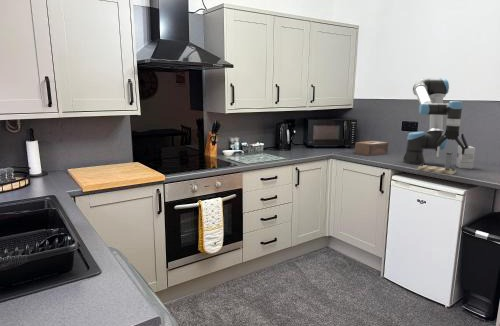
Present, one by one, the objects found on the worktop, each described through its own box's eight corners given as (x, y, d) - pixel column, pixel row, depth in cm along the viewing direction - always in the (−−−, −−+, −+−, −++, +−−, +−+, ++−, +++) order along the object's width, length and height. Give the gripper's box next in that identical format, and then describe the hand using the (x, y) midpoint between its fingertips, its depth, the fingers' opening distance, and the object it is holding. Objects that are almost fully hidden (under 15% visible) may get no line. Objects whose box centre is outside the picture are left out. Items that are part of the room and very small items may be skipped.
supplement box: (455, 165, 255) (457, 145, 252) (469, 166, 252) (471, 146, 249) (458, 168, 246) (461, 147, 243) (473, 168, 244) (476, 147, 241)
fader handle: (444, 169, 229) (446, 152, 227) (446, 168, 232) (448, 152, 230) (448, 169, 227) (450, 153, 225) (450, 169, 230) (452, 152, 228)
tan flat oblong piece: (417, 169, 238) (418, 165, 237) (422, 167, 245) (422, 163, 245) (452, 174, 224) (452, 169, 223) (456, 172, 231) (456, 167, 230)
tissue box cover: (368, 156, 294) (369, 144, 292) (354, 153, 306) (355, 142, 304) (387, 153, 307) (388, 142, 306) (374, 151, 319) (374, 140, 318)
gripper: (430, 124, 230) (426, 155, 234) (474, 127, 213) (469, 161, 217) (433, 123, 235) (430, 154, 240) (476, 126, 218) (472, 159, 223)
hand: (448, 157), depth 229 cm, fingers open, 13 cm apart
